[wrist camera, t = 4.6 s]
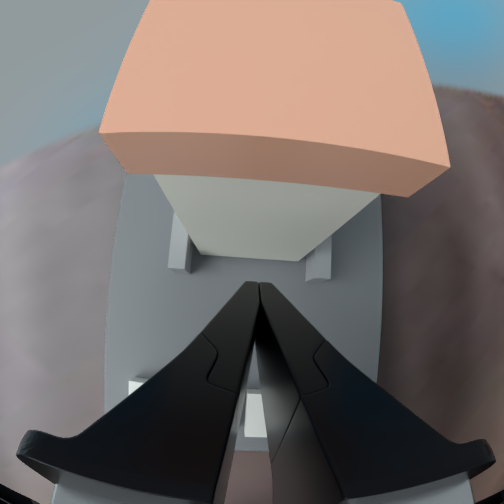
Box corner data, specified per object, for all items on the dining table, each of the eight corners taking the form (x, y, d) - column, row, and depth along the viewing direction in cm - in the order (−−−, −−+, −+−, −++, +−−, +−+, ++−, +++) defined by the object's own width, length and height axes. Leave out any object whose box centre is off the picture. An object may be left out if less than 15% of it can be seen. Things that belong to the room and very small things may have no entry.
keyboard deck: (360, 439, 17) (381, 458, 13) (112, 425, 16) (92, 443, 13) (371, 177, 20) (392, 156, 16) (135, 159, 19) (120, 134, 16)
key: (303, 267, 17) (450, 167, 4) (194, 260, 17) (98, 133, 4) (305, 184, 18) (401, 3, 5) (203, 176, 17) (163, -25, 5)
